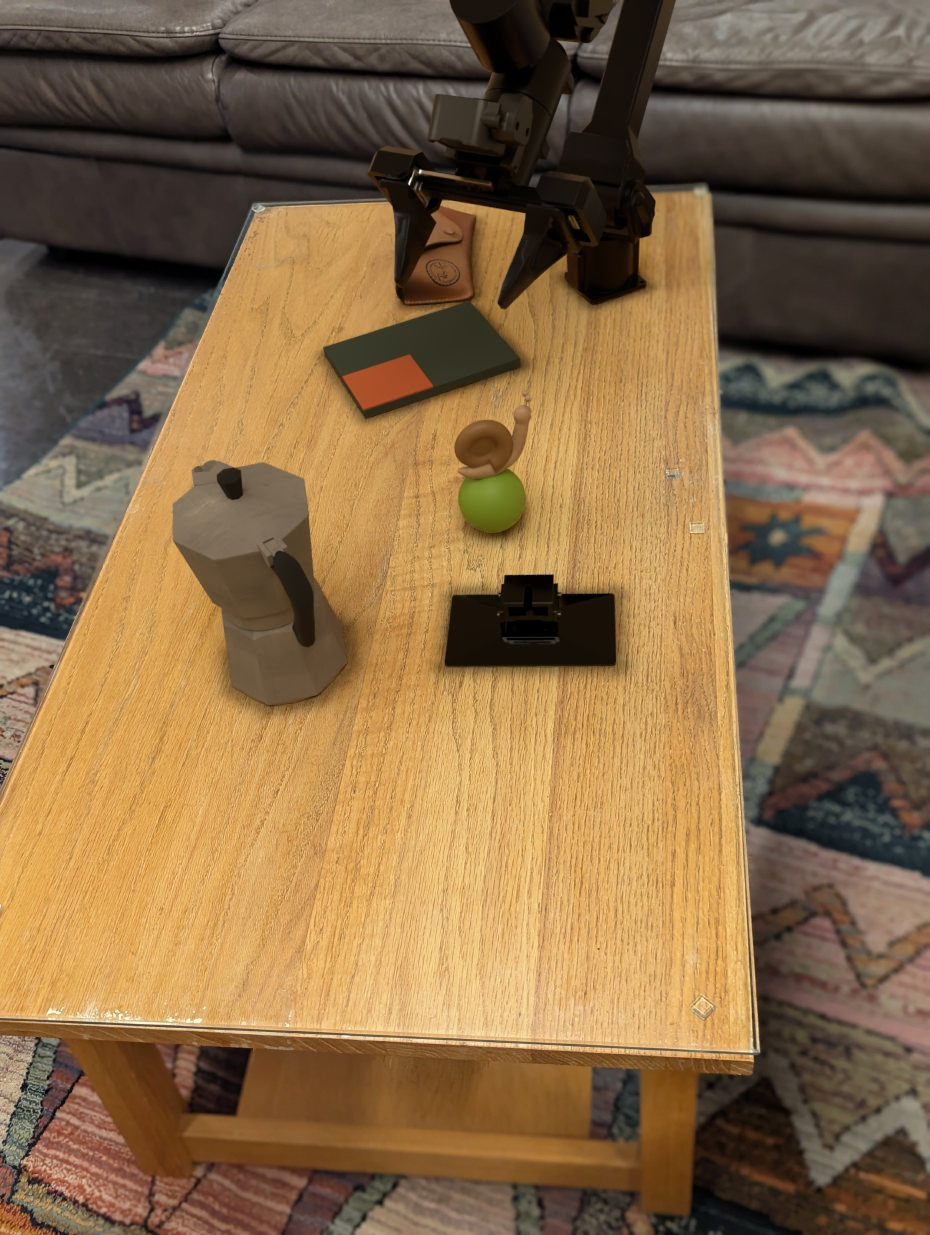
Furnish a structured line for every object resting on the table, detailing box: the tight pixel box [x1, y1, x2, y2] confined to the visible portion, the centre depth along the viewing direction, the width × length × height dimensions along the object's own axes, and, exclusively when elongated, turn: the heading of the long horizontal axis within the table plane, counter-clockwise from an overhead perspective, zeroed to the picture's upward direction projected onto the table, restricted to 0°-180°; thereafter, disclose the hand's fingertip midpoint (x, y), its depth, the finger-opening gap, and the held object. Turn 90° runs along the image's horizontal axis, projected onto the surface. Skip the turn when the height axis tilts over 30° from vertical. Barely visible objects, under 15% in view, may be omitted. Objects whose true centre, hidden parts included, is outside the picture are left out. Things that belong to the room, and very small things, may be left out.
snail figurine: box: [453, 389, 533, 534], centre depth 84 cm, size 5×6×12 cm
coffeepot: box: [172, 459, 348, 706], centre depth 73 cm, size 15×9×18 cm, turn 33°
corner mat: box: [322, 300, 522, 420], centre depth 105 cm, size 16×12×1 cm
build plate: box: [444, 573, 617, 668], centre depth 79 cm, size 12×7×5 cm, turn 86°
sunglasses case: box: [394, 205, 477, 306], centre depth 117 cm, size 18×7×7 cm, turn 0°
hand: (448, 295), depth 84 cm, fingers open, 9 cm apart
